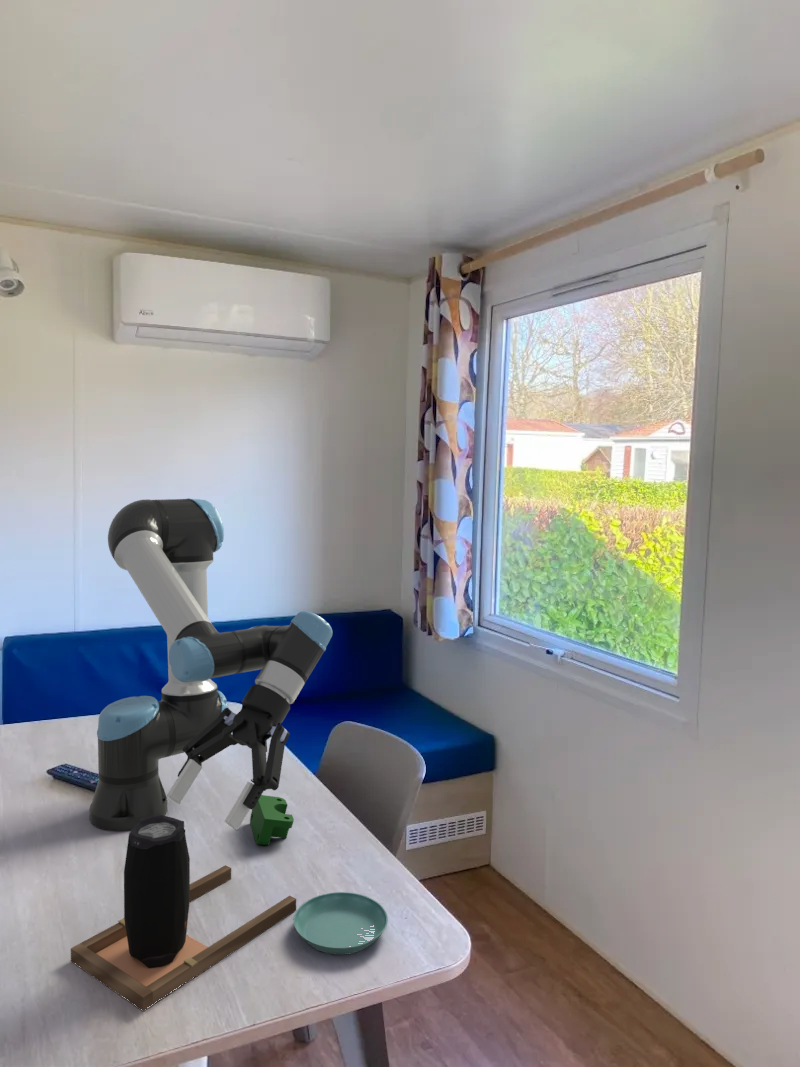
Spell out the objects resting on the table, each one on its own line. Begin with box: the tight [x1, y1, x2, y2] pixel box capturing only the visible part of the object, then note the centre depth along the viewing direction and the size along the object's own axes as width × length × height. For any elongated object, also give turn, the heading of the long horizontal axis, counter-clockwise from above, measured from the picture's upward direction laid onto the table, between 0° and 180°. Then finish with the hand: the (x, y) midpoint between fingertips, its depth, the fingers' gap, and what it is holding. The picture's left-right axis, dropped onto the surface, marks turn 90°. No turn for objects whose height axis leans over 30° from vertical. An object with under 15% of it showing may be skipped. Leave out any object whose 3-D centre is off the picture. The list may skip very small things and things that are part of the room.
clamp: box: [249, 794, 295, 846], centre depth 153 cm, size 12×6×9 cm, turn 13°
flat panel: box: [96, 934, 209, 987], centre depth 115 cm, size 14×11×1 cm
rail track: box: [70, 865, 297, 1012], centre depth 120 cm, size 17×30×2 cm, turn 145°
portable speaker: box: [123, 814, 191, 968], centre depth 114 cm, size 9×9×20 cm
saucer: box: [293, 891, 389, 955], centre depth 121 cm, size 15×15×3 cm
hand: (200, 812), depth 119 cm, fingers open, 13 cm apart
